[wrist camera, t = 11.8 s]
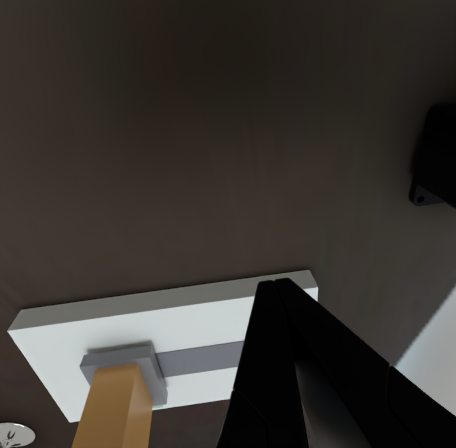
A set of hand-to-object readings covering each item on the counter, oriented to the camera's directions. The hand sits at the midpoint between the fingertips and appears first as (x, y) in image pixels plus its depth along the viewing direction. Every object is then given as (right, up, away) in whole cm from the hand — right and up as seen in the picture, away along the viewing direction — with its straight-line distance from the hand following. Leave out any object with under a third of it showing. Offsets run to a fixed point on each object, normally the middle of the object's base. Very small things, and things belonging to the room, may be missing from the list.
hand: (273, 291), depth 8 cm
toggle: (-9, -10, +16) cm, 21 cm away
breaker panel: (-5, -8, +18) cm, 21 cm away
